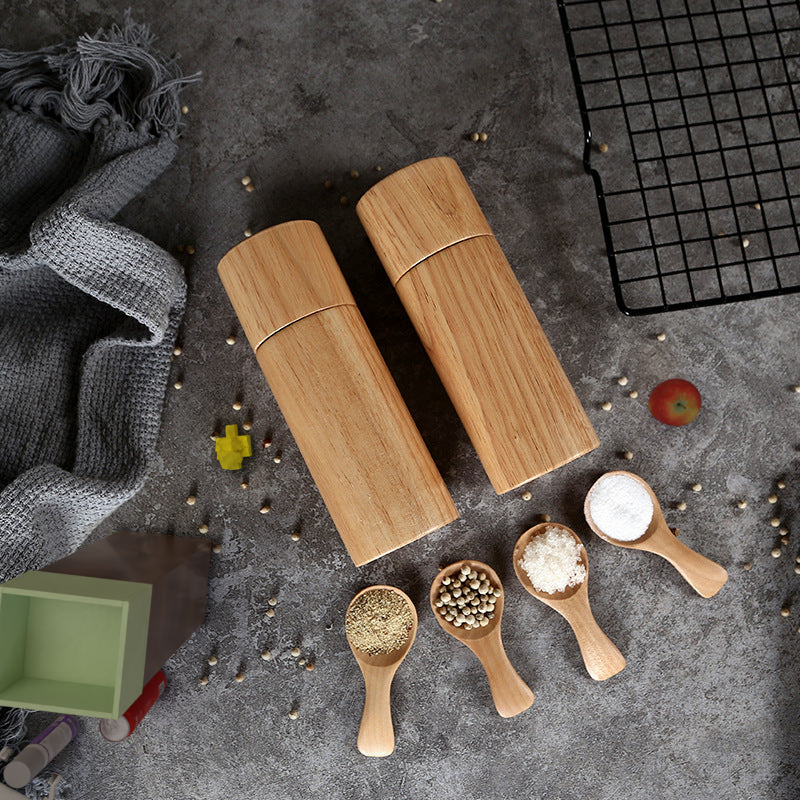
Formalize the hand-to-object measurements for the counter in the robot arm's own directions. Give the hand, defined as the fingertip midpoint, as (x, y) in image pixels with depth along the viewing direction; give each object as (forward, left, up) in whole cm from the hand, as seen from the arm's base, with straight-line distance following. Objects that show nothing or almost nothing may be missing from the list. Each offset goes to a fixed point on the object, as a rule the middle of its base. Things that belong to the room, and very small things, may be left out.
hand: (34, 761), depth 109 cm
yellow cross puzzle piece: (+26, +56, -10) cm, 63 cm away
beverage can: (+15, +11, -10) cm, 21 cm away
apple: (+102, +72, -10) cm, 125 cm away
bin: (+15, +31, +17) cm, 39 cm away
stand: (+15, +31, -10) cm, 36 cm away
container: (0, +1, -10) cm, 10 cm away
